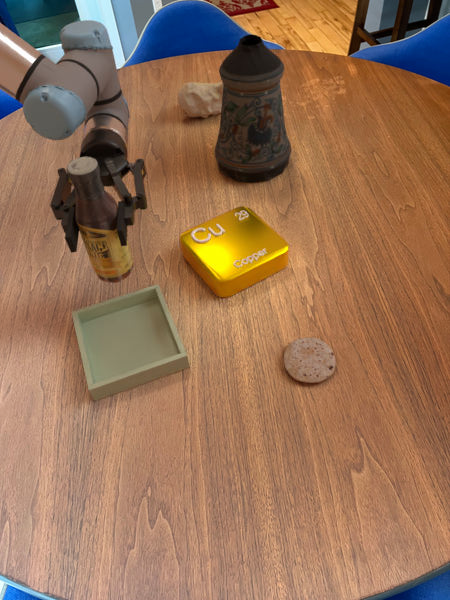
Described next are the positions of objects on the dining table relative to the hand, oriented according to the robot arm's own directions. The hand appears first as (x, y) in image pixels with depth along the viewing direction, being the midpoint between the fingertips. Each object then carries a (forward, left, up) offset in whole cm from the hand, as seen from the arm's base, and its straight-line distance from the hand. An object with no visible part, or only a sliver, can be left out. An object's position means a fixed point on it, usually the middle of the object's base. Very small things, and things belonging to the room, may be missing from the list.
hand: (96, 241), depth 65 cm
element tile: (-7, +22, -18) cm, 29 cm away
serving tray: (+4, 0, -18) cm, 19 cm away
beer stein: (-35, +37, -18) cm, 54 cm away
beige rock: (-59, +37, -18) cm, 71 cm away
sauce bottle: (-5, +1, -11) cm, 12 cm away
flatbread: (+18, +24, -18) cm, 35 cm away
